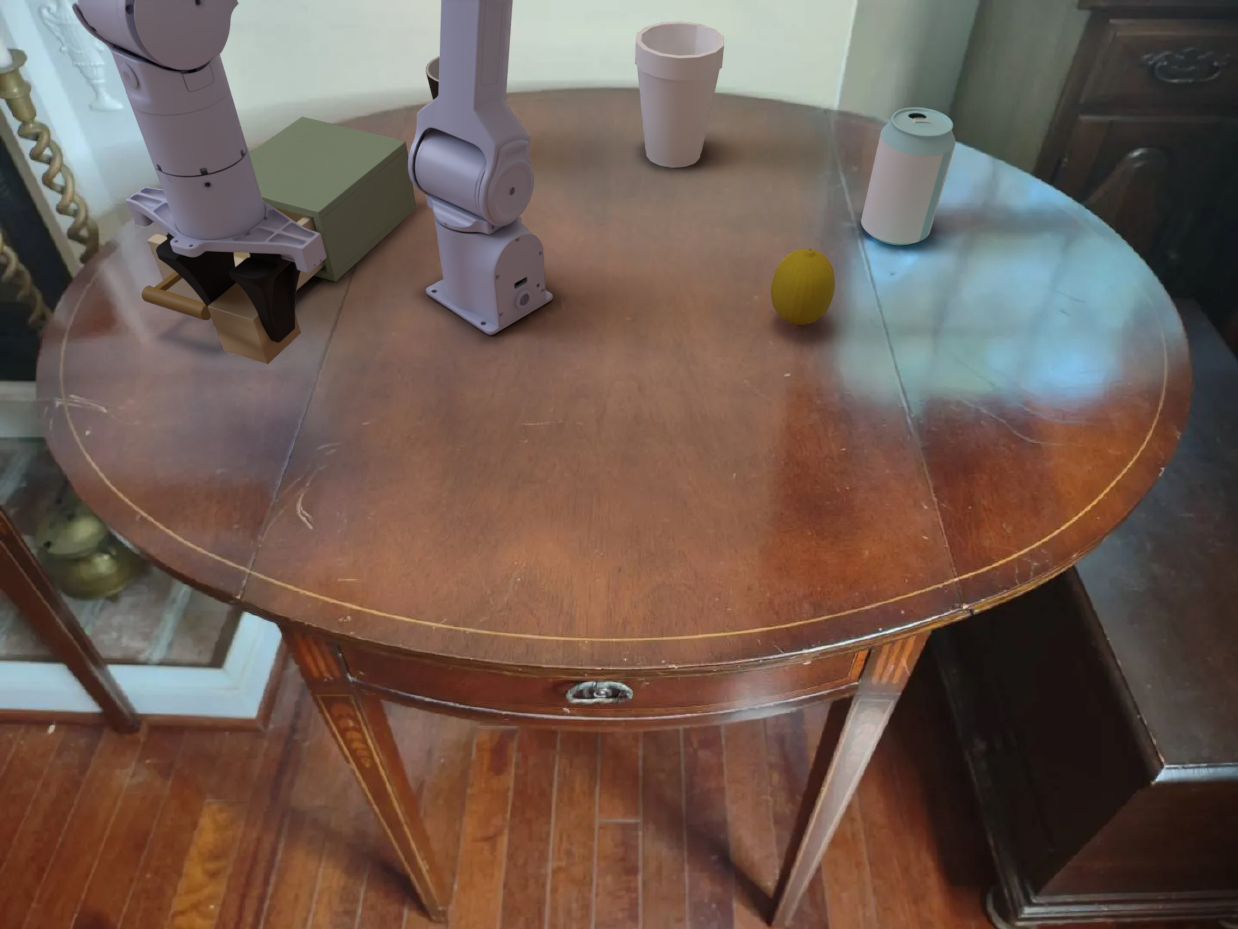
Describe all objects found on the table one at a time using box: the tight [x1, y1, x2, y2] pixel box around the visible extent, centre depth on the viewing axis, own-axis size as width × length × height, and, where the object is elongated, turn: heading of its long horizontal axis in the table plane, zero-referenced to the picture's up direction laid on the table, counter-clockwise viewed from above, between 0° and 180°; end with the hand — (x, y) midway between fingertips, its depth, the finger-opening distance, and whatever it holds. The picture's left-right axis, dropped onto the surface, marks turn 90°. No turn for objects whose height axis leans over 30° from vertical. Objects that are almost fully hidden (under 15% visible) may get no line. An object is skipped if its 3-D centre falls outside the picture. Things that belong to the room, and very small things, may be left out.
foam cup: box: [634, 20, 725, 169], centre depth 104 cm, size 10×9×13 cm
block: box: [208, 283, 302, 365], centre depth 69 cm, size 4×4×4 cm
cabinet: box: [249, 116, 417, 283], centre depth 94 cm, size 15×13×8 cm
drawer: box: [141, 206, 325, 321], centre depth 87 cm, size 18×11×6 cm, turn 157°
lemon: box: [770, 248, 836, 326], centre depth 84 cm, size 6×6×8 cm
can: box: [860, 106, 956, 246], centre depth 94 cm, size 7×7×12 cm
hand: (257, 326), depth 69 cm, fingers closed on block, 4 cm apart
